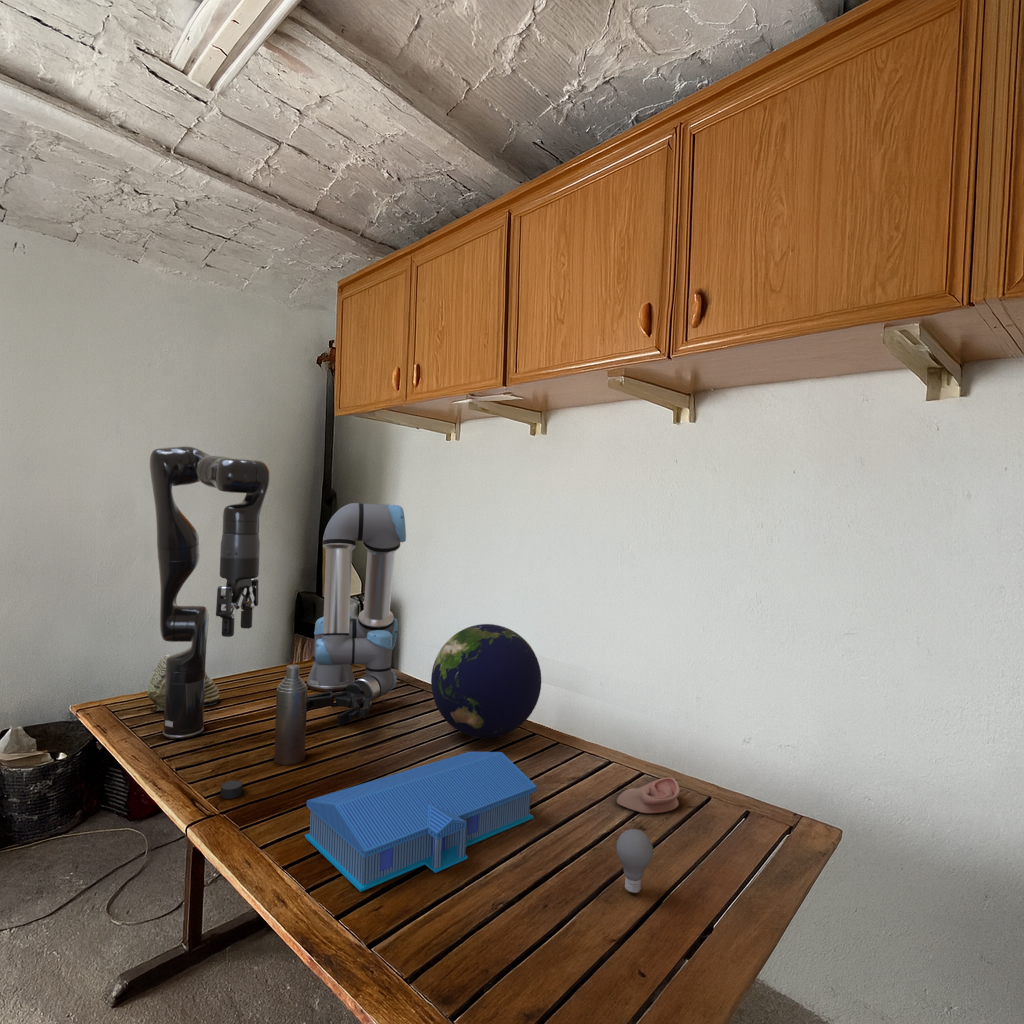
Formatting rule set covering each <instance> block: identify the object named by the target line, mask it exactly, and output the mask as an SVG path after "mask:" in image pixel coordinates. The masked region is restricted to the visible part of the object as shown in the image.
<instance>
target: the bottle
mask: <svg viewBox="0 0 1024 1024" xmlns="http://www.w3.org/2000/svg"><path fill="white" fill-rule="evenodd" d="M285 668H286V669H285V670H286V673H285V674H286V675H285V676H284V678H283V679H282V681H280V683H279V684H278V685H277V687H276V694H275V695H276V698H275V700H276V701H275V723H274V726H275V727H274V750H273V751H274V753H273V762H274V763H275V764H277V765H282V766H291V765H292V766H293V765H297V764H300V763H301V762H304V760H305V758H306V738H307V715H308V714H307V713H308V712H307V696H308V687H307V682H305V681H304V680H303V678H302V677H301V676H300V668H301V666H300V665H299V664H294V663H293V664H288V665H286V667H285Z"/></svg>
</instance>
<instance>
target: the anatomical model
mask: <svg viewBox="0 0 1024 1024" xmlns="http://www.w3.org/2000/svg"><path fill="white" fill-rule="evenodd" d="M680 793H681V790H680V786H679V783H678V781H677V780H676V779H675V778H674V777H670V776H669V777H668V776H667V777H662V778H659V779H656V780H653V781H651V782H648V783H647V784H645V785H643V786H640V787H637V788H634V787H633V788H628V789H625V790H623V791H622V792H621V793H620V794H619V795H618V797H617V798H616V804H617V805H619V806H621V807H624V808H626V809H628V810H631V811H633V812H639V813H642V814H659V813H660V814H661V813H665V812H670V811H672V810H674V809H676V808H678V807H679V805H680V803H679V802H680V801H679V800H678V797H679V795H680Z"/></svg>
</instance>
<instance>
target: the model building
mask: <svg viewBox="0 0 1024 1024" xmlns="http://www.w3.org/2000/svg"><path fill="white" fill-rule="evenodd" d="M537 789H538V788H537V785H536V784H535V783H534V782H533V781H532V780H531V779H530V778H529V777H528V776H527V775H526V774H525V773H524V772H523V771H522V770H521V769H520V768H519V767H518V766H517V765H516V764H515V763H513V761H511V759H510V758H509V757H507V755H505V754H504V752H502V751H468V752H464V753H460V754H457V755H454V756H450V757H447V758H444V759H441V760H437V761H434V762H431V763H427V764H424V765H421V766H418V767H414V768H411V769H407V770H404V771H400V772H398V773H394V774H390V775H387V776H384V777H381V778H377V779H374V780H371V781H366V782H364V783H360V784H357V785H354V786H350V787H347V788H344V789H341V790H340V789H339V790H337V791H334V792H330V793H327V794H324V795H321V796H320V795H319V796H316V797H314V798H310V799H308V800H306V807H307V808H308V809H309V811H310V817H309V819H310V820H309V822H310V823H309V832H308V833H306V834H304V838H305V839H306V840H307V841H308V842H309V843H310V844H311V845H312V846H313V847H314V848H315V849H316V850H317V851H318V852H319V853H320V854H321V855H322V856H323V857H324V858H325V859H326V860H327V861H328V862H329V863H330V864H331V865H332V866H334V868H335V869H336V870H338V872H339V873H340V874H342V875H343V876H344V877H345V879H346V880H348V881H349V882H350V883H351V884H352V885H353V886H354V887H355V888H356V889H357V891H359V892H360V893H363V892H364V891H366V890H370V889H371V888H373V887H375V886H378V885H381V884H382V883H385V882H388V881H389V880H392V879H394V878H397V877H400V876H402V875H404V874H406V873H409V872H410V871H413V870H416V869H418V868H420V867H423V866H426V867H427V868H429V870H431V871H432V872H433V873H435V874H437V873H439V872H441V871H443V870H445V869H448V868H450V867H452V866H455V865H457V864H459V863H461V862H463V861H466V860H469V859H468V857H469V856H468V855H467V854H466V848H467V847H469V846H472V845H474V844H476V843H479V842H482V841H484V840H486V839H488V838H490V837H493V836H496V835H497V834H500V833H502V832H505V831H506V830H507V831H508V830H510V829H512V828H513V827H516V826H519V825H521V824H524V823H526V822H528V821H530V820H533V819H534V815H533V814H531V813H530V812H531V811H530V810H531V794H533V793H535V792H537Z"/></svg>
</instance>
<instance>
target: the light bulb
mask: <svg viewBox="0 0 1024 1024" xmlns="http://www.w3.org/2000/svg"><path fill="white" fill-rule="evenodd" d="M615 849H616V854H617V857H618V859H619V861H620V863H621V865H622V867H623V873H624V874H623V875H624V876H625V878H624V888H625V890H627V891H628V892H630V893H634V894H635V893H639V892H640V891H641V889H642V887H641V886H642V879H643V877H644V875H645V871H646V868H647V867H648V866H649V864H650V863H651V861H652V859H653V855H654V847H653V843H652V841H651V838H649V836H648V835H647V834H646V833H645V832H643V831H642V830H641V829H636V828H629V829H627V830H625V831H623V832H622V833H621V834H620V835H619V837H618V839H617V841H616V847H615Z"/></svg>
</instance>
